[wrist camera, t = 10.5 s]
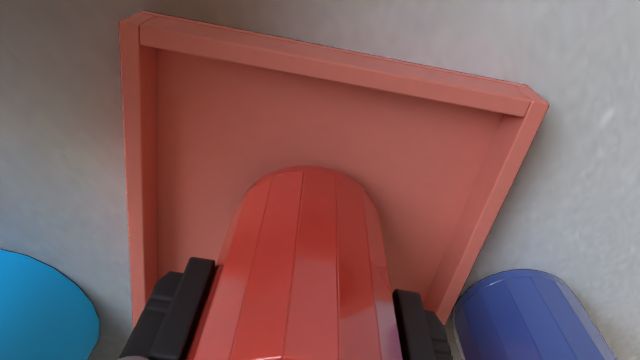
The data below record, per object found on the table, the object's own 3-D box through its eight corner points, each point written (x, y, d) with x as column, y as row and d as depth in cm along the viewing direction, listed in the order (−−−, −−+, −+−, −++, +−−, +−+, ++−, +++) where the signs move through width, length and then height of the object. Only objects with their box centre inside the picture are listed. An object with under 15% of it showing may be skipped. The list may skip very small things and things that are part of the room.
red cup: (397, 179, 16) (449, 380, 9) (361, 291, 18) (379, 512, 11) (241, 152, 15) (166, 340, 8) (229, 271, 18) (164, 486, 11)
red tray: (527, 84, 15) (551, 104, 13) (416, 338, 22) (423, 372, 20) (142, 9, 14) (117, 20, 12) (148, 298, 21) (132, 331, 19)
